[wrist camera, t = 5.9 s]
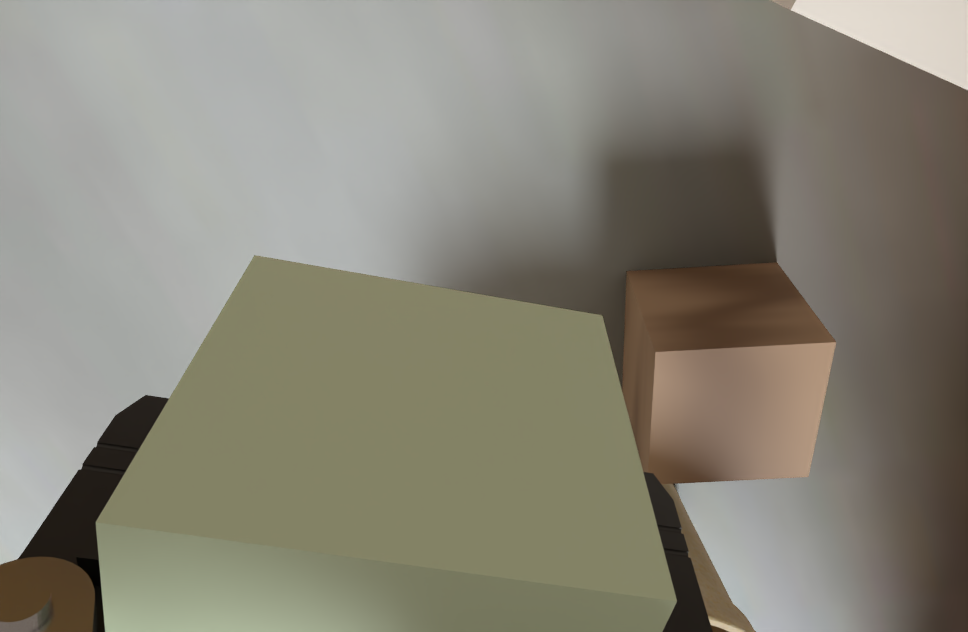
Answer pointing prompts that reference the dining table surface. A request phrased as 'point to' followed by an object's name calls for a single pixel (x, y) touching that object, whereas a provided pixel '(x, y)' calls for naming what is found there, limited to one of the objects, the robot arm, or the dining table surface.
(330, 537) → the sage cube
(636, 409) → the walnut cube
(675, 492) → the flower pot
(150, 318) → the dining table surface
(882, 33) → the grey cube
